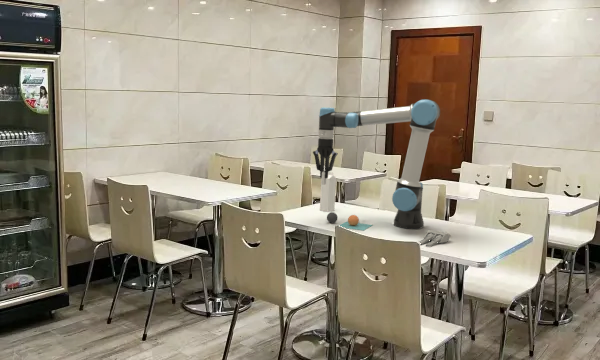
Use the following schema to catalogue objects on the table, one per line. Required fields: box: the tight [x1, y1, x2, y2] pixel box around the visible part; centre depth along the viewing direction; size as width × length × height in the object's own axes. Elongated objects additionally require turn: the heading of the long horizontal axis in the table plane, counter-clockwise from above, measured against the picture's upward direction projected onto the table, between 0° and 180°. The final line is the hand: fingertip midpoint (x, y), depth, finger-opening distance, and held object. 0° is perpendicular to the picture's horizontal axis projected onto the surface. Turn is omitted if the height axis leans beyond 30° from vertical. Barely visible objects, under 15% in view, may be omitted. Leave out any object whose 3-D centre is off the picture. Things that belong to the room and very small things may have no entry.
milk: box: [319, 171, 337, 213], centre depth 332 cm, size 6×6×22 cm
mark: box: [339, 221, 373, 231], centre depth 296 cm, size 14×14×1 cm
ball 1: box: [326, 211, 338, 224], centre depth 301 cm, size 6×6×6 cm
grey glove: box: [419, 229, 451, 247], centre depth 269 cm, size 10×20×5 cm, turn 140°
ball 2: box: [347, 214, 360, 226], centre depth 296 cm, size 6×6×6 cm
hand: (323, 184), depth 301 cm, fingers closed
